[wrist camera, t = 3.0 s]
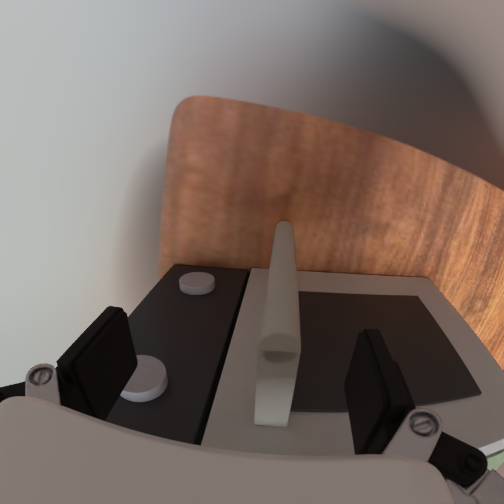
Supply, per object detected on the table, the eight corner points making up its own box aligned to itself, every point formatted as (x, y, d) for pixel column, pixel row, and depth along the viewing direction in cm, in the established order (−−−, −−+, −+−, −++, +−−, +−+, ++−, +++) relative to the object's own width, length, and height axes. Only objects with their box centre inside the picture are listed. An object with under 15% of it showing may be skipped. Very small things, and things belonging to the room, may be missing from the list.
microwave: (173, 256, 31) (41, 409, 10) (428, 272, 28) (541, 419, 7) (192, 406, 39) (149, 530, 19) (375, 416, 36) (396, 540, 16)
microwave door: (253, 211, 28) (172, 377, 8) (438, 227, 26) (585, 346, 6) (251, 281, 30) (198, 479, 10) (424, 290, 29) (522, 440, 8)
